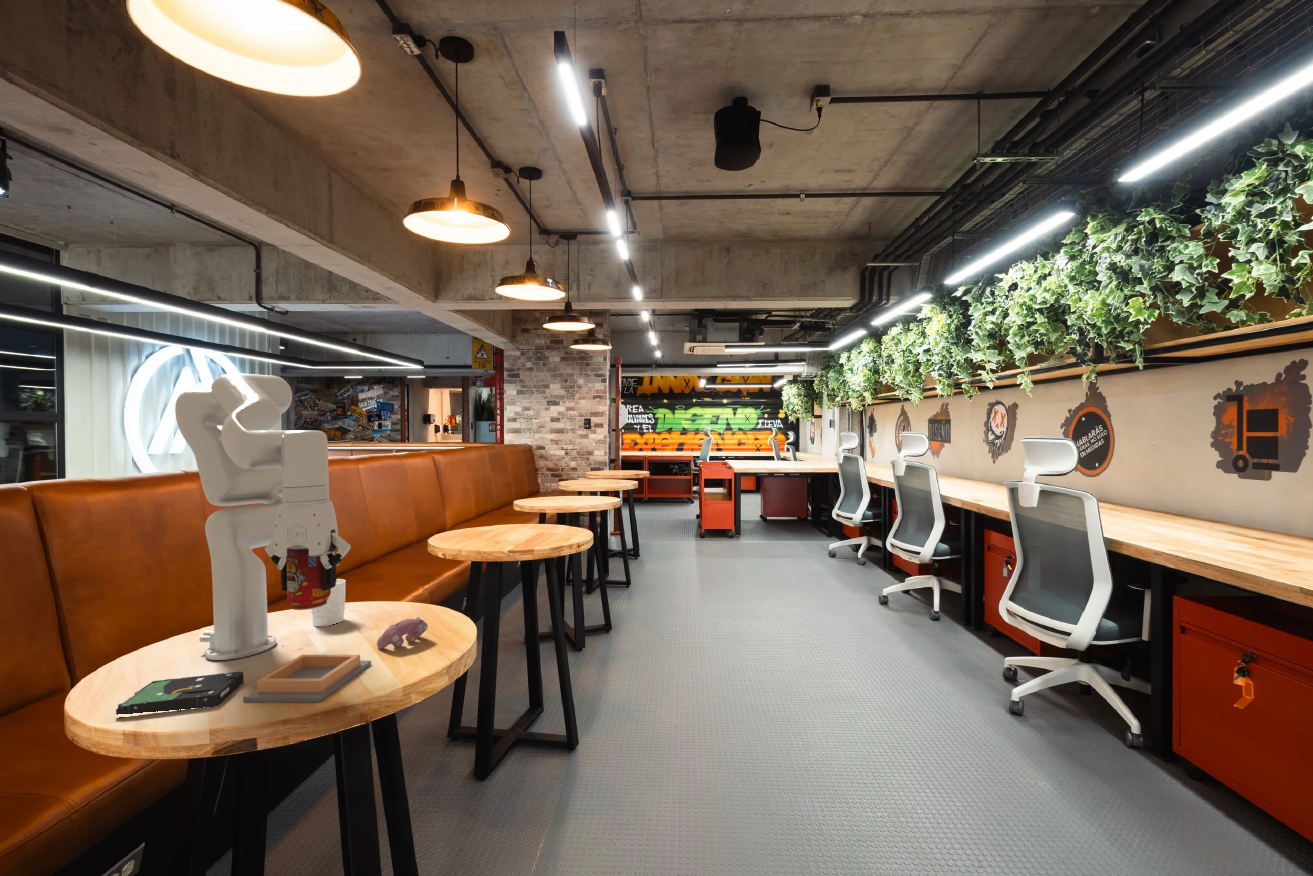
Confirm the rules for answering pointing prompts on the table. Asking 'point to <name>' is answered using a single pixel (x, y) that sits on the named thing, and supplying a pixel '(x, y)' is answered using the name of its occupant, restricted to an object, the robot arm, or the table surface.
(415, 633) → the video game controller
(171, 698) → the disk drive
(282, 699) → the cradle jig
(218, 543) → the robot arm
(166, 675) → the table surface
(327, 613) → the white cup
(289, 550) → the soda can
